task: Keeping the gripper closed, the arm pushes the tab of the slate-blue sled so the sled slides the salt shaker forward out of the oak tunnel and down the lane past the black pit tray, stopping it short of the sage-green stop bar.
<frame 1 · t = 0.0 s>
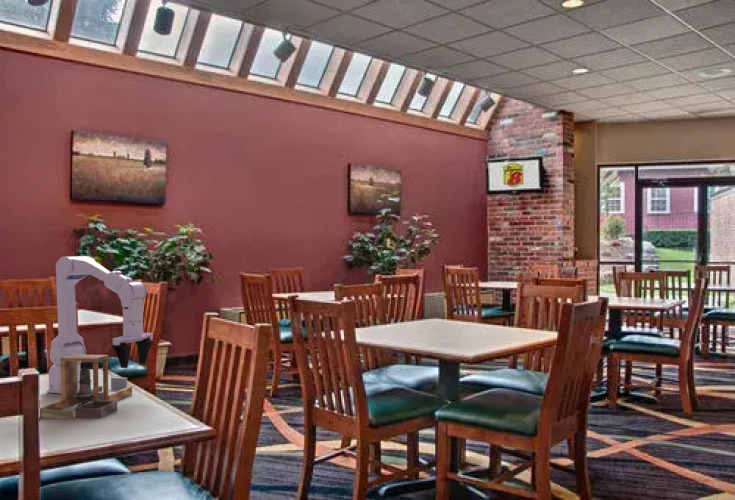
hand: (133, 365, 201), 10 cm above the table, fingers open, 7 cm apart
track: (85, 406, 192), on the table
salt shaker: (85, 407, 192), on the table
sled: (107, 389, 203), point 2 cm above the table, slide at 0.0 cm
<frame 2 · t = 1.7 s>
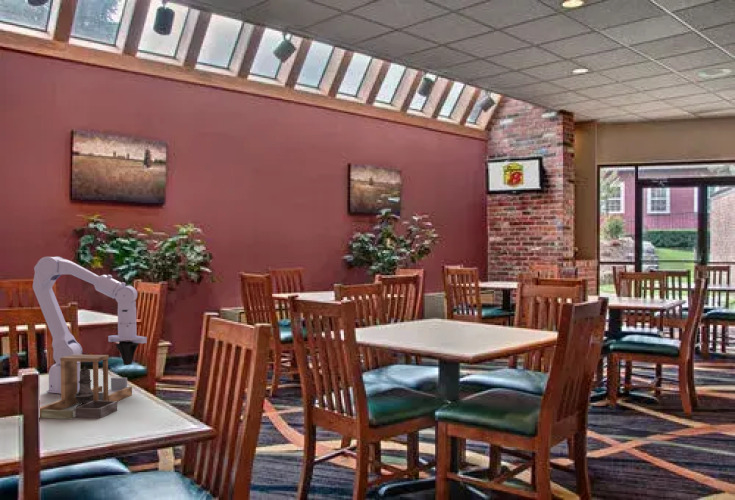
hand: (127, 364, 215), 8 cm above the table, fingers closed
nothing on the table moved.
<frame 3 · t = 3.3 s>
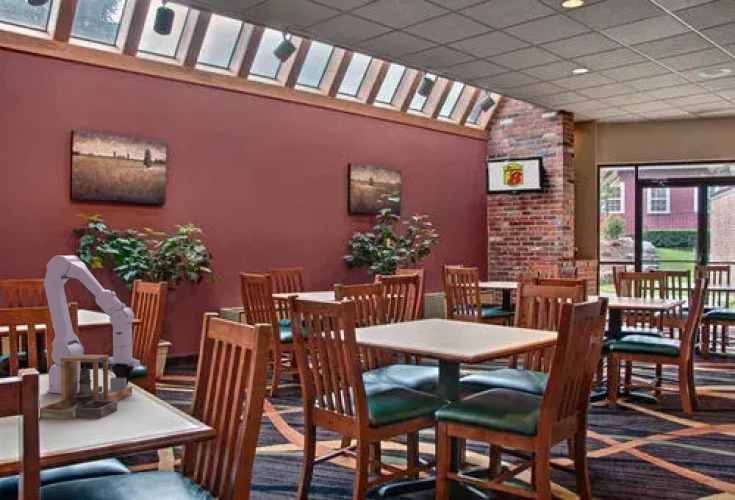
hand: (123, 387, 212), 1 cm above the table, fingers closed
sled: (106, 389, 203), point 3 cm above the table, slide at 0.4 cm, touching gripper
everything else where it was.
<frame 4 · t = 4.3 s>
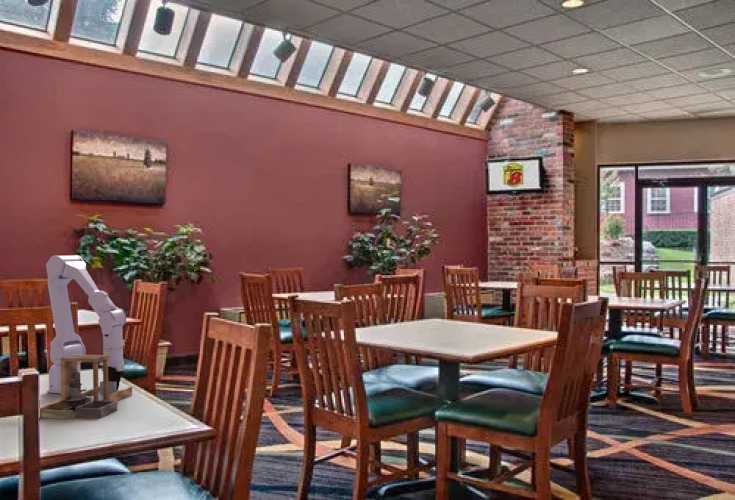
hand: (113, 391, 207), 1 cm above the table, fingers closed
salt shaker: (75, 411, 187), on the table, touching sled
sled: (95, 394, 197), point 3 cm above the table, slide at 6.3 cm, touching gripper, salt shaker
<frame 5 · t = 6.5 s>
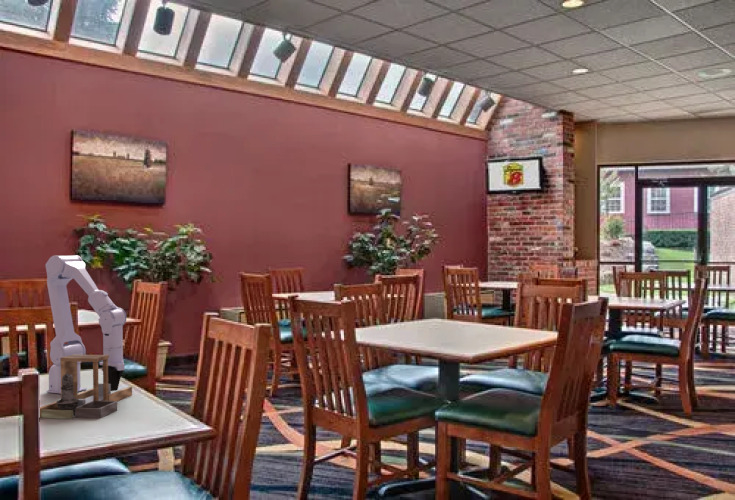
hand: (113, 390, 207), 1 cm above the table, fingers closed
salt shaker: (67, 414, 184), on the table
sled: (89, 396, 194), point 3 cm above the table, slide at 9.5 cm
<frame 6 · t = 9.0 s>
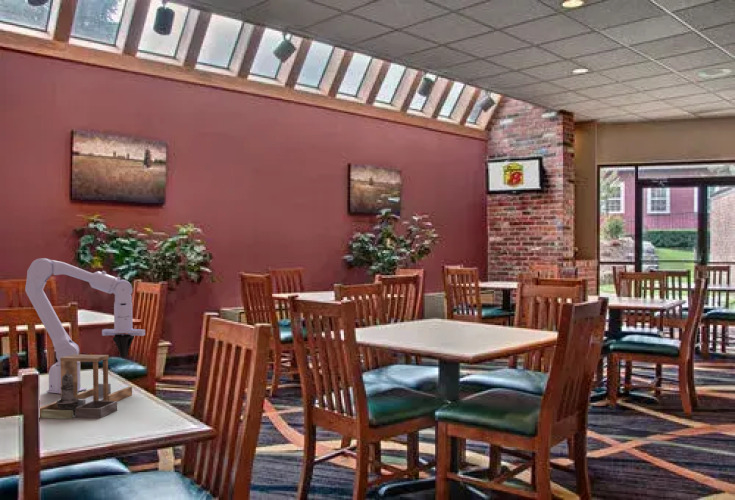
hand: (123, 357, 219), 10 cm above the table, fingers closed
nothing on the table moved.
at the end: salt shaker inside the target area (0.8 cm from its centre), on the table; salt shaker tilted 0°; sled slide at 9.5 cm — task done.
